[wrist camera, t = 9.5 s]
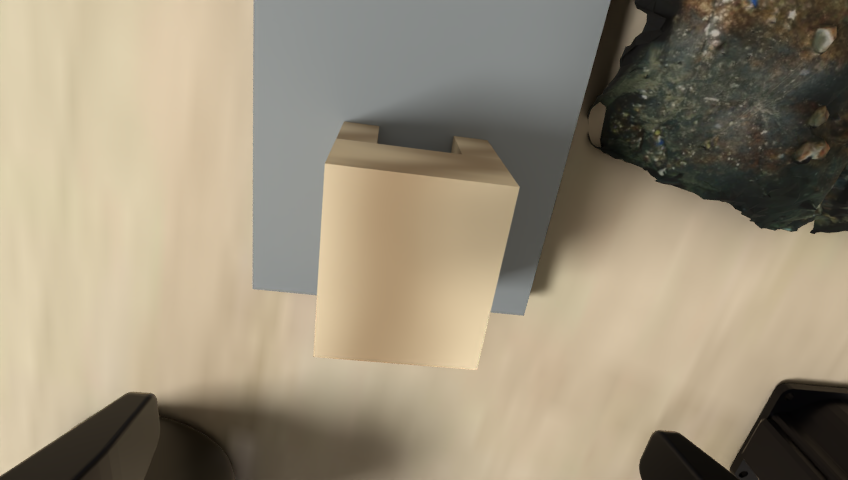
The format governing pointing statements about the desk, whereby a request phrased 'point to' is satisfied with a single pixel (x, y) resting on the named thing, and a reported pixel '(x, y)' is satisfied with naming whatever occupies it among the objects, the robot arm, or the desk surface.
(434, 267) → the block
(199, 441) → the ink bottle
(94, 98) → the desk surface
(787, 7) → the decorative rock
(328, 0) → the pin plate
